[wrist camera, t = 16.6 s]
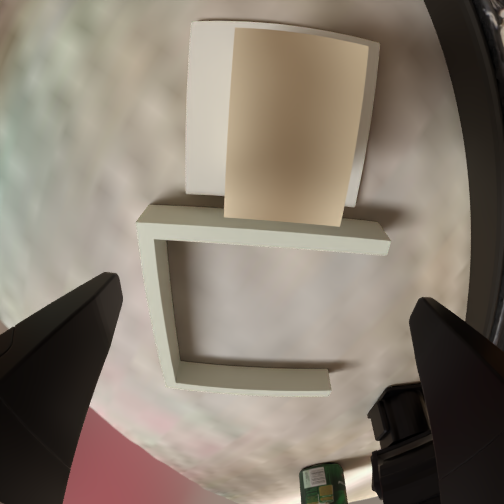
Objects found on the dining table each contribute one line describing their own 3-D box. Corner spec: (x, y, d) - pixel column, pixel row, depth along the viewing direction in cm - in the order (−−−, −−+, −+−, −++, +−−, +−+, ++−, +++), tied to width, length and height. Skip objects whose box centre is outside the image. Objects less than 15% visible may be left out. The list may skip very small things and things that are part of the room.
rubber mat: (377, 43, 13) (380, 43, 12) (352, 204, 18) (354, 207, 18) (193, 23, 13) (191, 21, 12) (187, 190, 18) (185, 193, 17)
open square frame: (377, 221, 19) (391, 241, 16) (325, 374, 27) (328, 396, 25) (149, 204, 18) (135, 222, 16) (171, 366, 27) (166, 387, 25)
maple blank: (330, 57, 13) (368, 46, 8) (314, 178, 17) (339, 226, 12) (243, 47, 13) (234, 27, 8) (234, 171, 17) (223, 217, 12)
